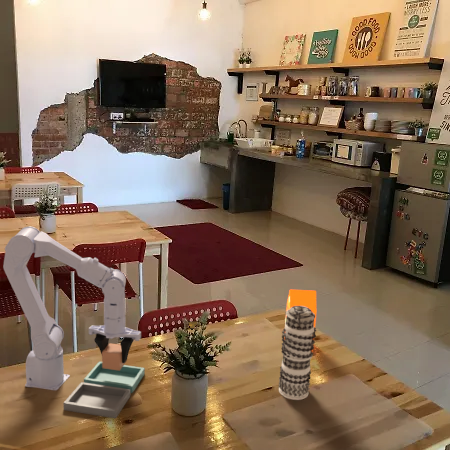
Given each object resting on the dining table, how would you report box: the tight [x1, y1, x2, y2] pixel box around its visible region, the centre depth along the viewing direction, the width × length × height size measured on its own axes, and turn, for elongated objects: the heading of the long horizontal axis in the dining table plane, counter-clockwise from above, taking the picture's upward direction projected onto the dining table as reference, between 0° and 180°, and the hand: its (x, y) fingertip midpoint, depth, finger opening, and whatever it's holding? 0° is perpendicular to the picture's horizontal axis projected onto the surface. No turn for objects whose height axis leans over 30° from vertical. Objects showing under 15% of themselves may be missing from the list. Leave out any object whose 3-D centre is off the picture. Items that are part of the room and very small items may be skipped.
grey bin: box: [63, 381, 131, 419], centre depth 131 cm, size 14×10×2 cm
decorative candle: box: [278, 306, 317, 401], centre depth 139 cm, size 9×9×25 cm
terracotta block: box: [101, 342, 127, 371], centre depth 140 cm, size 5×5×5 cm
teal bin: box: [83, 361, 146, 394], centre depth 142 cm, size 14×10×2 cm
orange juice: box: [284, 289, 318, 353], centre depth 166 cm, size 8×9×20 cm
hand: (115, 360), depth 141 cm, fingers closed on terracotta block, 5 cm apart
